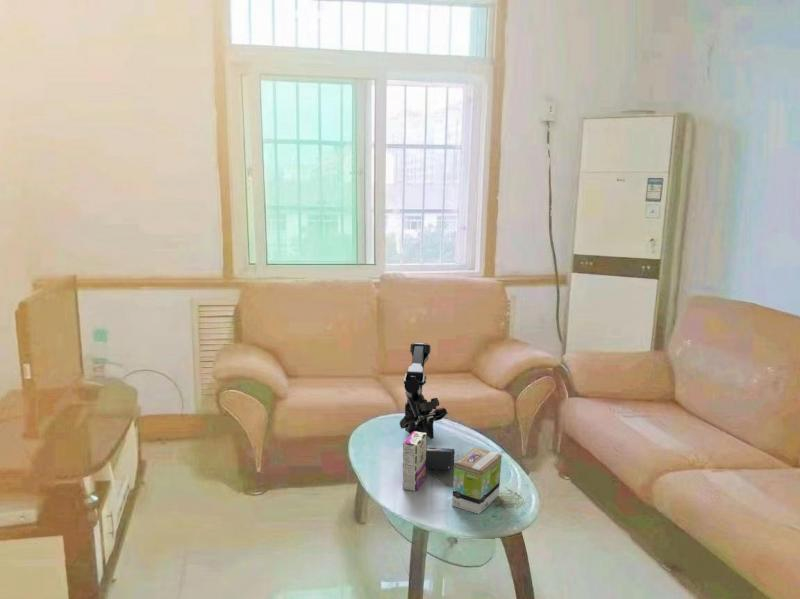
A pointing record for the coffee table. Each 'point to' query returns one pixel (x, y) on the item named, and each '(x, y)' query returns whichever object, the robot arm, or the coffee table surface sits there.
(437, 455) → the small box
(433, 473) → the slate mat
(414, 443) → the candy bar box
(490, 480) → the tea box
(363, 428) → the coffee table surface
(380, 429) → the coffee table surface
